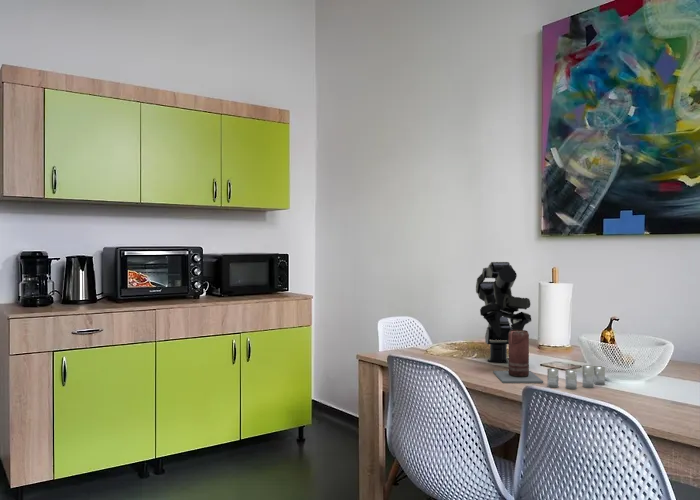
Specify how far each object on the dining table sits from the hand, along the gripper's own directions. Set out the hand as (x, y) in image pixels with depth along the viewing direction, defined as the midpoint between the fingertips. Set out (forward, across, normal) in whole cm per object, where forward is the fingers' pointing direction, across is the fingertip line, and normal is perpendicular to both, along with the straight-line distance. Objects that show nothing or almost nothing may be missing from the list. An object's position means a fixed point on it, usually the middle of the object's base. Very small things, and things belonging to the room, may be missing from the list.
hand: (509, 338), depth 189 cm
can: (+14, -2, -3) cm, 14 cm away
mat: (+14, -2, -3) cm, 15 cm away
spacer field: (+19, +7, -19) cm, 27 cm away
